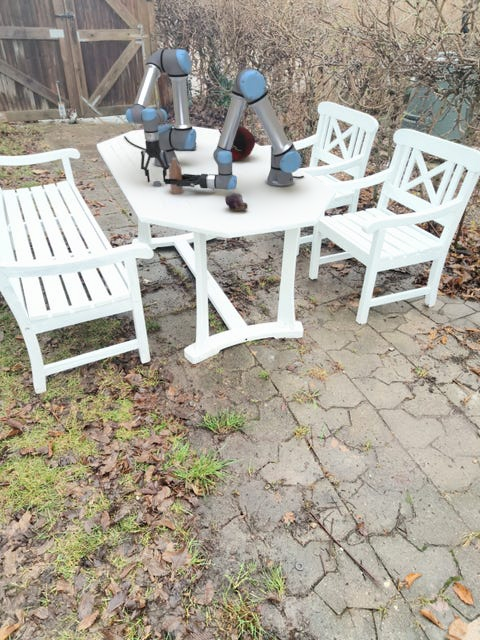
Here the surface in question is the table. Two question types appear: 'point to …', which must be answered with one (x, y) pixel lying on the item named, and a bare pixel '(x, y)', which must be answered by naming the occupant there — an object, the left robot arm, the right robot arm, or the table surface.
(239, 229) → the table surface
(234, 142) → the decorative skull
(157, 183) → the cap
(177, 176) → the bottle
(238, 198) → the rock
